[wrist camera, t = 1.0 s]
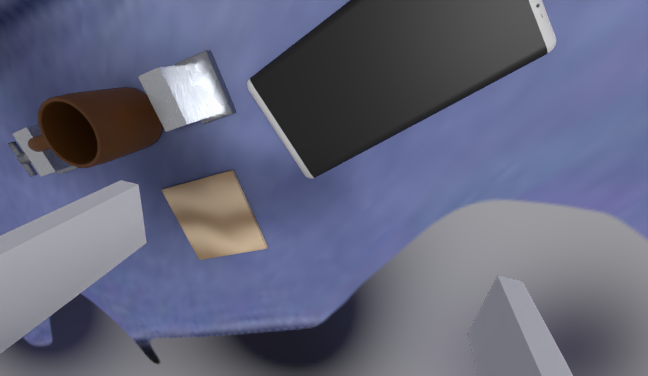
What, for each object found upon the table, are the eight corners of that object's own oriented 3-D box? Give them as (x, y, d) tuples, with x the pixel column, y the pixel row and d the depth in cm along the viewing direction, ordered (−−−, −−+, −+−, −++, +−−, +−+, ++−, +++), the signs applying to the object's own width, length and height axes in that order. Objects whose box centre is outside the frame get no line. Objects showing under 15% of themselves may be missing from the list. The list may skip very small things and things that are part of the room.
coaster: (163, 188, 43) (161, 190, 43) (233, 169, 39) (231, 170, 39) (200, 258, 47) (199, 259, 46) (268, 246, 43) (266, 248, 43)
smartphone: (248, 81, 35) (241, 82, 33) (493, -108, 24) (500, -119, 22) (311, 177, 38) (307, 182, 36) (552, 47, 27) (561, 47, 26)
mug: (107, 156, 43) (37, 181, 34) (79, 102, 40) (-5, 115, 32) (175, 139, 39) (114, 162, 31) (148, 79, 37) (74, 86, 28)
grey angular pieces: (29, 131, 44) (-13, 140, 40) (210, 50, 34) (181, 50, 29) (57, 174, 46) (21, 187, 42) (236, 112, 36) (213, 120, 31)
